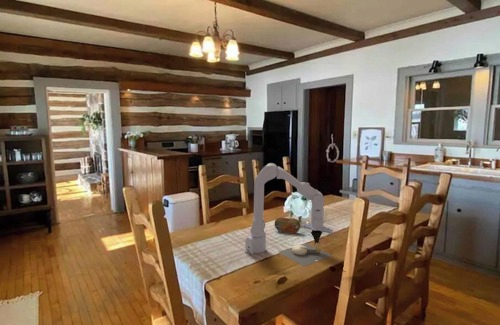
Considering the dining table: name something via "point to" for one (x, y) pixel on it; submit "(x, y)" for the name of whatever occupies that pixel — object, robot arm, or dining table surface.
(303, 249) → the cam dial
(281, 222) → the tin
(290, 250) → the stand plate
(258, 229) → the robot arm
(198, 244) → the dining table surface
